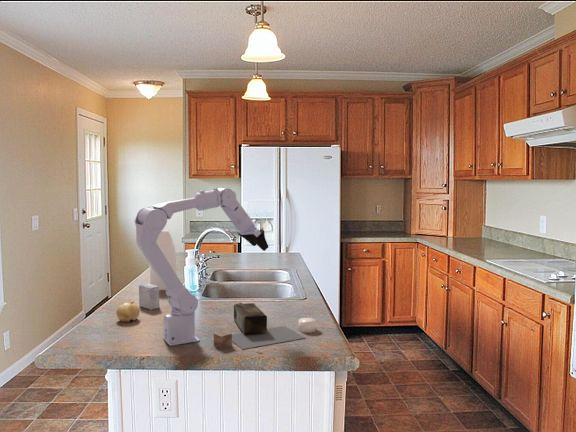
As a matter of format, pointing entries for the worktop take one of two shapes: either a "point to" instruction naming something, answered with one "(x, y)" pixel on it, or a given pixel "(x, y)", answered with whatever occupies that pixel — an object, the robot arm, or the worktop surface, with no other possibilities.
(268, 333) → the mat
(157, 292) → the medicine box
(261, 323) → the beverage carton
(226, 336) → the walnut block
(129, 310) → the onion
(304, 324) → the cream egg shape
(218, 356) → the worktop surface
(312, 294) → the worktop surface
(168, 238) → the milk
